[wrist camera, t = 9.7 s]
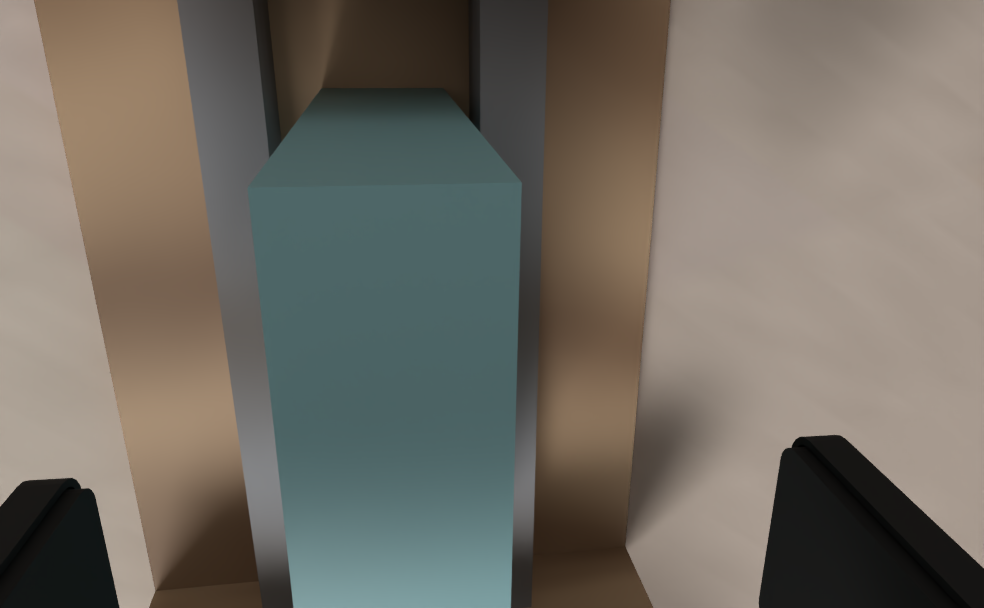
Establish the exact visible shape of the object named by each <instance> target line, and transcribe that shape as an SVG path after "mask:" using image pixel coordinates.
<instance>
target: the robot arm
mask: <svg viewBox="0 0 984 608" xmlns="http://www.w3.org/2000/svg"><path fill="white" fill-rule="evenodd" d="M0 608H119V604H118V599H117V595H116V590H115V585H114V581H113V576H112V572H111V567H110V562H109V558H108V553H107V549H106V544H105V539H104V535H103V530H102V526H101V521H100V516H99V512H98V507H97V503H96V499H95V495H94V493H93V492H92V490H90V489H88V488H87V489H81V486H80V484H79V483H78V482H77V480H75V479H73V478H64V479H46V480H29V481H24V482H22V483H21V484H20V485H19V486H18V487H17V488H16V489H15V490H14V491H13V492H12V494H11V495H10V496H9V497H8V498H7V500H6V501H5V502H4V503H3V504H2V505H1V507H0ZM759 608H984V568H983V567H982V566H980V565H979V564H978V563H977V562H976V561H975V560H974V559H973V558H972V557H971V556H970V555H969V554H968V553H967V552H966V551H964V550H963V549H962V548H961V547H960V546H959V545H958V544H957V543H956V542H955V541H954V540H953V539H952V538H951V537H950V536H948V535H947V534H946V533H945V532H944V531H943V530H942V529H941V528H940V527H939V526H938V525H937V524H936V523H935V522H934V521H933V520H931V519H930V518H929V517H928V516H927V515H926V514H925V513H924V512H923V511H922V510H921V509H920V508H919V507H918V506H917V505H915V504H914V503H913V502H912V501H911V500H910V499H909V498H908V497H907V496H906V495H905V494H904V493H903V492H902V491H901V490H900V489H898V488H897V487H896V486H895V485H894V484H893V483H892V482H891V481H890V480H889V479H888V478H887V477H886V476H885V475H884V474H882V473H881V472H880V471H879V470H878V469H877V468H876V467H875V466H874V465H873V464H872V463H871V462H870V461H869V460H868V459H867V458H865V457H864V456H863V455H862V454H861V453H860V452H859V451H858V450H857V449H856V448H855V447H854V446H853V445H852V444H851V443H849V442H848V441H847V440H846V439H845V438H843V437H842V436H840V435H827V436H810V437H799V438H797V439H796V440H795V441H794V443H793V445H792V448H787V449H785V450H784V451H783V453H782V456H781V460H780V467H779V473H778V480H777V486H776V493H775V499H774V506H773V512H772V518H771V525H770V531H769V538H768V544H767V551H766V557H765V564H764V570H763V577H762V583H761V590H760V596H759Z"/></svg>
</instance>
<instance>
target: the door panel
mask: <svg viewBox="0 0 984 608" xmlns="http://www.w3.org/2000/svg"><path fill="white" fill-rule="evenodd" d="M247 189H248V198H249V207H250V216H251V225H252V234H253V244H254V253H255V262H256V271H257V280H258V289H259V298H260V307H261V316H262V325H263V335H264V344H265V353H266V362H267V371H268V380H269V389H270V398H271V407H272V417H273V426H274V435H275V444H276V453H277V462H278V471H279V480H280V489H281V499H282V508H283V517H284V526H285V535H286V544H287V553H288V562H289V571H290V581H291V590H292V599H293V608H511V582H512V543H513V504H514V465H515V427H516V388H517V349H518V310H519V271H520V233H521V194H522V182H521V181H520V180H519V179H518V177H517V176H516V175H515V174H514V173H513V171H512V170H511V169H510V168H509V167H508V165H507V164H506V163H505V162H504V161H503V159H502V158H501V157H500V156H499V155H498V153H497V152H496V151H495V150H494V149H493V147H492V146H491V145H490V144H489V143H488V141H487V140H486V139H485V138H484V137H483V135H482V134H481V133H480V132H479V131H478V129H477V128H476V127H475V126H474V125H473V123H472V122H471V121H470V120H469V119H468V117H467V116H466V115H465V114H464V113H463V111H462V110H461V109H460V108H459V107H458V105H457V104H456V103H455V102H454V101H453V99H452V98H451V97H450V96H449V95H448V93H447V92H446V91H445V90H444V89H443V88H321V89H320V91H319V92H318V94H317V95H316V96H315V98H314V99H313V100H312V102H311V103H310V104H309V106H308V107H307V108H306V110H305V111H304V112H303V114H302V115H301V116H300V118H299V119H298V120H297V122H296V123H295V124H294V126H293V127H292V128H291V130H290V131H289V133H288V134H287V135H286V137H285V138H284V139H283V141H282V142H281V143H280V145H279V146H278V147H277V149H276V150H275V151H274V153H273V154H272V155H271V157H270V158H269V159H268V161H267V162H266V163H265V165H264V166H263V168H262V169H261V170H260V172H259V173H258V174H257V176H256V177H255V178H254V180H253V181H252V182H251V184H250V185H249V186H248V188H247Z"/></svg>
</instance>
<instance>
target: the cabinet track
mask: <svg viewBox="0 0 984 608" xmlns="http://www.w3.org/2000/svg"><path fill="white" fill-rule="evenodd" d="M670 1H671V0H34V2H35V7H36V12H37V17H38V22H39V27H40V32H41V36H42V41H43V46H44V51H45V56H46V61H47V66H48V70H49V75H50V80H51V85H52V90H53V95H54V100H55V105H56V109H57V114H58V119H59V124H60V129H61V134H62V139H63V143H64V148H65V153H66V158H67V163H68V168H69V173H70V177H71V182H72V187H73V192H74V197H75V202H76V207H77V211H78V216H79V221H80V226H81V231H82V236H83V241H84V246H85V250H86V255H87V260H88V265H89V270H90V275H91V280H92V284H93V289H94V294H95V299H96V304H97V309H98V314H99V318H100V323H101V328H102V333H103V338H104V343H105V348H106V352H107V357H108V362H109V367H110V372H111V377H112V382H113V387H114V391H115V396H116V401H117V406H118V411H119V416H120V421H121V425H122V430H123V435H124V440H125V445H126V450H127V455H128V459H129V464H130V469H131V474H132V479H133V484H134V489H135V493H136V498H137V503H138V508H139V513H140V518H141V523H142V527H143V532H144V537H145V542H146V547H147V552H148V557H149V562H150V566H151V571H152V576H153V581H154V586H155V594H154V596H153V599H152V602H151V604H150V607H149V608H293V599H292V590H291V581H290V571H289V562H288V553H287V544H286V535H285V526H284V517H283V508H282V499H281V489H280V480H279V471H278V462H277V453H276V444H275V435H274V426H273V417H272V407H271V398H270V389H269V380H268V371H267V362H266V353H265V344H264V335H263V325H262V316H261V307H260V298H259V289H258V280H257V271H256V262H255V253H254V244H253V234H252V225H251V216H250V207H249V198H248V189H247V188H248V186H249V185H250V184H251V182H252V181H253V180H254V178H255V177H256V176H257V174H258V173H259V172H260V170H261V169H262V168H263V166H264V165H265V163H266V162H267V161H268V159H269V158H270V157H271V155H272V154H273V153H274V151H275V150H276V149H277V147H278V146H279V145H280V143H281V142H282V141H283V139H284V138H285V137H286V135H287V134H288V133H289V131H290V130H291V128H292V127H293V126H294V124H295V123H296V122H297V120H298V119H299V118H300V116H301V115H302V114H303V112H304V111H305V110H306V108H307V107H308V106H309V104H310V103H311V102H312V100H313V99H314V98H315V96H316V95H317V94H318V92H319V91H320V89H321V88H443V89H444V90H445V91H446V92H447V93H448V95H449V96H450V97H451V98H452V99H453V101H454V102H455V103H456V104H457V105H458V107H459V108H460V109H461V110H462V111H463V113H464V114H465V115H466V116H467V117H468V119H469V120H470V121H471V122H472V123H473V125H474V126H475V127H476V128H477V129H478V131H479V132H480V133H481V134H482V135H483V137H484V138H485V139H486V140H487V141H488V143H489V144H490V145H491V146H492V147H493V149H494V150H495V151H496V152H497V153H498V155H499V156H500V157H501V158H502V159H503V161H504V162H505V163H506V164H507V165H508V167H509V168H510V169H511V170H512V171H513V173H514V174H515V175H516V176H517V177H518V179H519V180H520V181H521V182H522V194H521V233H520V271H519V310H518V349H517V388H516V427H515V465H514V504H513V543H512V582H511V608H653V606H652V604H651V602H650V600H649V597H648V595H647V593H646V591H645V589H644V587H643V584H642V582H641V580H640V578H639V576H638V573H637V571H636V569H635V567H634V565H633V563H632V560H631V558H630V556H629V554H628V552H627V550H626V547H625V542H626V530H627V518H628V506H629V494H630V482H631V470H632V458H633V446H634V434H635V422H636V410H637V398H638V386H639V374H640V362H641V350H642V338H643V326H644V314H645V302H646V290H647V278H648V266H649V254H650V242H651V230H652V217H653V205H654V193H655V181H656V169H657V157H658V145H659V133H660V121H661V109H662V97H663V85H664V73H665V61H666V49H667V37H668V25H669V13H670Z"/></svg>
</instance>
